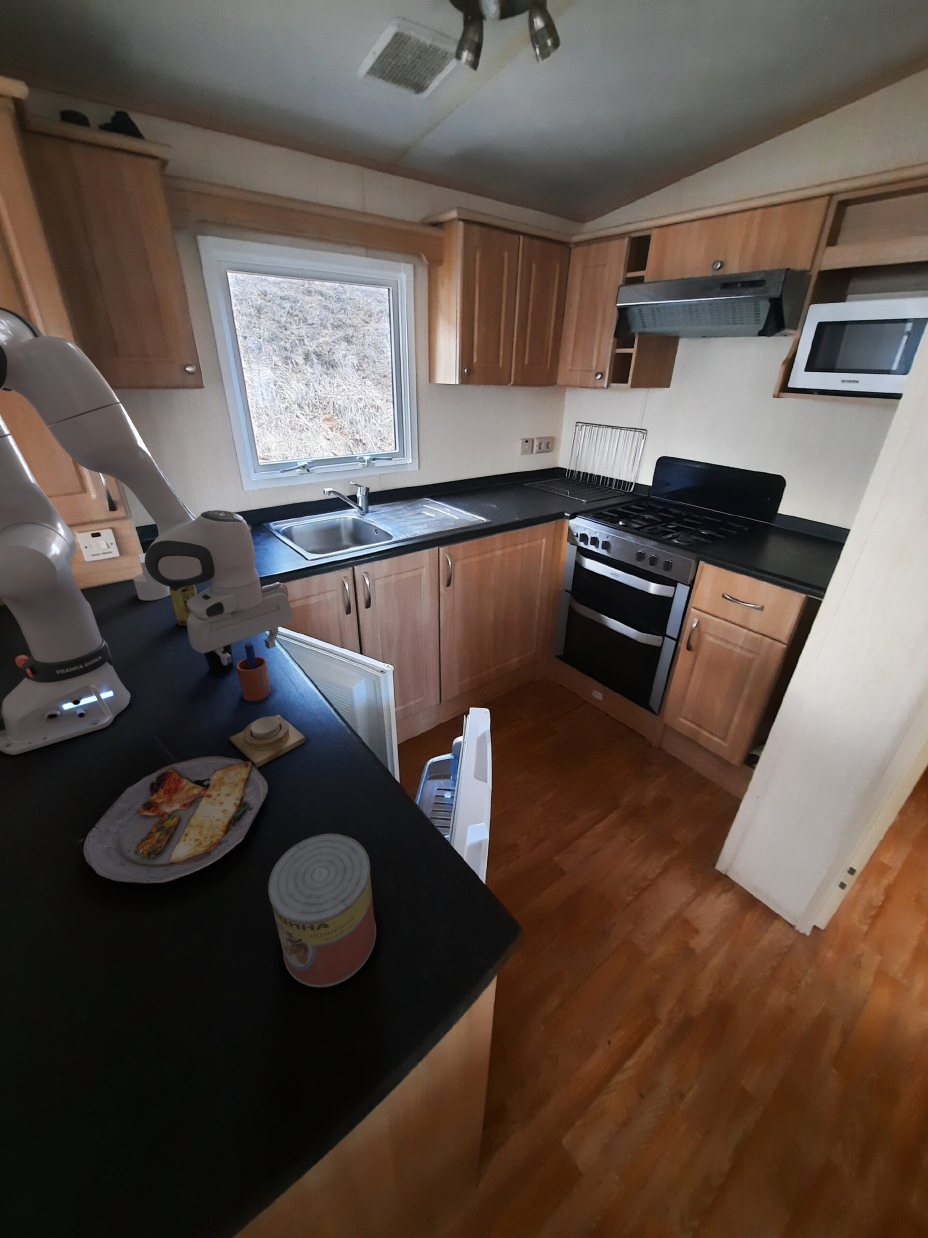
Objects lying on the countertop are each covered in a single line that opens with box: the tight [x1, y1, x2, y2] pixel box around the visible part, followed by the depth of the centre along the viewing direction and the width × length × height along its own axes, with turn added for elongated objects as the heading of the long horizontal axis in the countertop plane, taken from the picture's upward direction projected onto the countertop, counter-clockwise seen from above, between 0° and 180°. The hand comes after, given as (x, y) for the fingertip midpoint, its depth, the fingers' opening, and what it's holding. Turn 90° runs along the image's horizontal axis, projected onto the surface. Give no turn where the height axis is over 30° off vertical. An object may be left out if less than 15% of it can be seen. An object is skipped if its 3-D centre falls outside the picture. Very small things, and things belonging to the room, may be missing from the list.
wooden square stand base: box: [229, 714, 307, 768], centre depth 95 cm, size 10×10×3 cm
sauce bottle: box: [169, 584, 198, 627], centre depth 136 cm, size 7×6×20 cm
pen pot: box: [236, 656, 272, 702], centre depth 108 cm, size 6×6×8 cm
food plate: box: [83, 755, 269, 884], centre depth 79 cm, size 25×23×4 cm
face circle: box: [251, 716, 280, 740], centre depth 95 cm, size 5×5×2 cm
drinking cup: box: [203, 644, 234, 676], centre depth 114 cm, size 8×8×20 cm
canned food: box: [267, 833, 377, 988], centre depth 61 cm, size 11×11×12 cm
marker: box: [244, 642, 257, 670], centre depth 107 cm, size 2×2×12 cm
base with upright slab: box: [132, 552, 171, 601], centre depth 154 cm, size 9×9×12 cm
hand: (249, 654), depth 105 cm, fingers open, 8 cm apart
